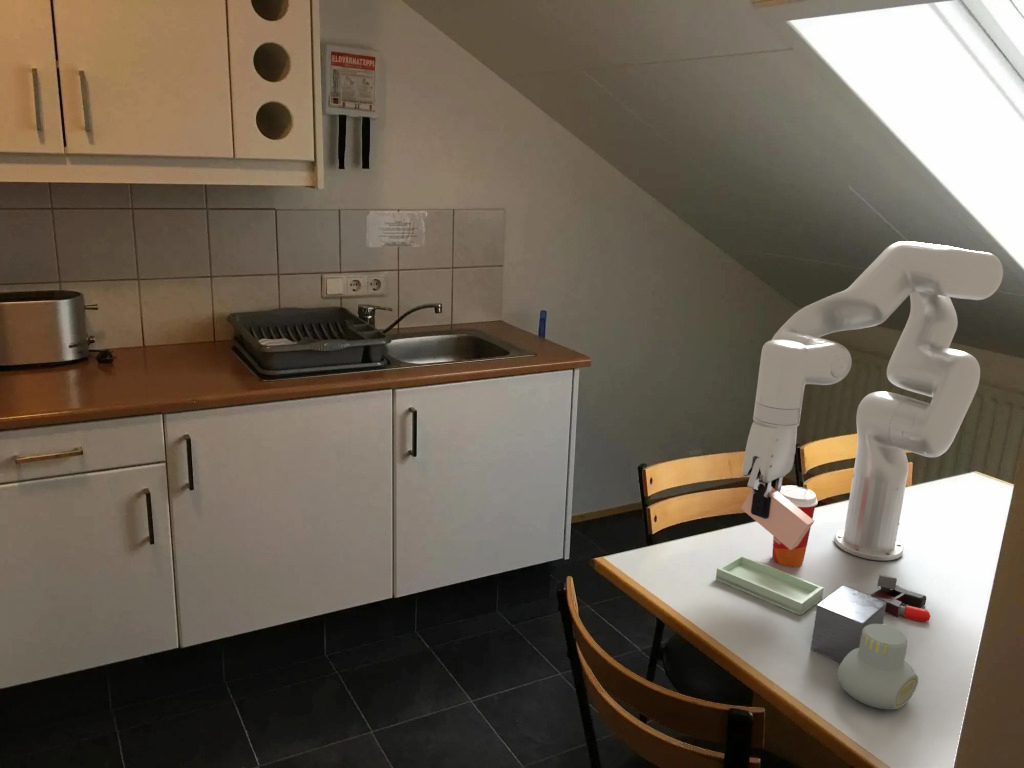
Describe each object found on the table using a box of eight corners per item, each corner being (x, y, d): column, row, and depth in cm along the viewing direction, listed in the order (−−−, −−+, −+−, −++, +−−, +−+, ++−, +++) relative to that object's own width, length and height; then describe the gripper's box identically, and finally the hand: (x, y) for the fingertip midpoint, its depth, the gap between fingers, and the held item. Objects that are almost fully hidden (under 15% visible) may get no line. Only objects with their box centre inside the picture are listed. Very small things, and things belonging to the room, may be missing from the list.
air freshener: (865, 668, 127) (875, 609, 124) (920, 695, 121) (932, 634, 118) (827, 695, 120) (837, 633, 117) (883, 726, 114) (895, 661, 111)
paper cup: (776, 547, 165) (784, 481, 161) (814, 560, 160) (824, 492, 157) (759, 560, 159) (768, 492, 155) (799, 574, 155) (809, 504, 151)
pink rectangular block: (747, 504, 150) (763, 479, 147) (797, 546, 144) (814, 520, 141) (740, 508, 149) (756, 482, 145) (790, 550, 143) (808, 524, 140)
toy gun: (853, 612, 143) (857, 586, 142) (887, 591, 150) (892, 567, 149) (909, 638, 136) (914, 611, 135) (942, 614, 143) (947, 589, 142)
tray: (739, 565, 157) (740, 554, 157) (822, 598, 146) (823, 587, 146) (715, 579, 151) (717, 568, 151) (800, 615, 141) (801, 603, 140)
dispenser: (832, 627, 137) (839, 584, 135) (878, 646, 132) (886, 602, 130) (807, 648, 131) (814, 603, 129) (854, 669, 126) (862, 623, 124)
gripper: (779, 400, 150) (766, 496, 155) (732, 416, 139) (720, 519, 144) (819, 410, 145) (804, 509, 150) (774, 428, 134) (760, 533, 139)
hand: (763, 513), depth 147 cm, fingers closed on pink rectangular block, 2 cm apart
